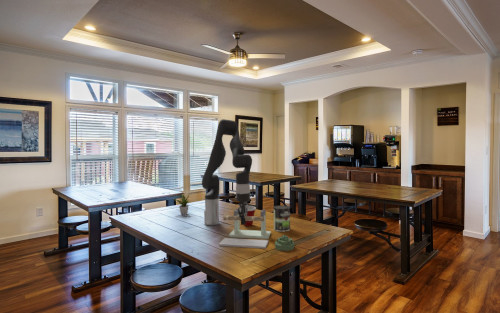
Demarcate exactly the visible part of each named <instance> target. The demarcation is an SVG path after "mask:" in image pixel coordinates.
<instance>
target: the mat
mask: <svg viewBox="0 0 500 313" xmlns="http://www.w3.org/2000/svg"><path fill="white" fill-rule="evenodd" d="M268 244H269V239H253V238H235V237H224V238H223V239H222V240H221V241H220V242H219V243H218V246H219V247H231V248H233V247H234V248H247V249H248V248H249V249H251V248H252V249H265V250H266V249H267V246H268Z"/></svg>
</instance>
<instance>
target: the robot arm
mask: <svg viewBox="0 0 500 313" xmlns="http://www.w3.org/2000/svg"><path fill="white" fill-rule="evenodd" d="M217 124H218V125H217V129H216V134H215V140H214V142H213V146H212V149H211V152H210V155H209V160H208V164H207V166H206V168H205V171H204V173H203V176H202V180H201V186H202V188H203V189H205V190H210V191H209V192H207V193H206V194H205V195H204V205H205V206H204V208H205V209H203V210H204V212H203V213H204V214H203V215H204V216H203V217H204V225H206V226H216V225H217V226H218V225H220V201H219V198H220V197H219V196H220V177H219V176H218V174H215V172H216V171H217V170H218V169H220V168H221V166H222V165H223V164H224V161H225V158H226V155H227V151H226V148H225V145H224V143H223V137H224V136H231V137H232V138H231V140H230V142H229V149H230V151H231V155H232V166H233V167H234V168H235V169H243V170H242V171H239V172H237V173H236V175H235V200H236V202H239V204H238V208H237V209H238V212H239V217H240V218H241V221H240V225H242V226H244V225H245V223H246V221H245V216H247V214H248V206H249V203H248V202H250V201H251V187H250V174H251V168H252V164H253V158H252V156H251V155H250V154H245V148H244V146H243V144H242V141H241V137H240V132H239V127H238V123H237V121H235V120H230V119H224V118H223V119H220V120H219V122H218V123H217Z"/></svg>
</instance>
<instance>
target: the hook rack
mask: <svg viewBox="0 0 500 313" xmlns="http://www.w3.org/2000/svg"><path fill="white" fill-rule="evenodd" d="M266 214H267V213H266V209H261V211H260V217H264V221H260V230H254V229H253V230H252V229H240V225H241V221H239V220H233V230H232V231H231V232H230V233H228V238H236V239H255V240H269V238H270V237H271V233H272V231H270V230H267V225H266V224H267V220H266V219H267V218H266ZM233 216H239V212H238V208H235V209H234V210H233Z"/></svg>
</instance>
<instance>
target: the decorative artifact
mask: <svg viewBox="0 0 500 313" xmlns="http://www.w3.org/2000/svg"><path fill="white" fill-rule="evenodd" d="M274 248H275V249H276V250H278V251H281V252H291V251H293V250H294V249H295V242H294V240H293V239H292V238H291V237H290V238H289V236H288V235H286V234H283V235H281V236H279V237H278V238H276V241H275V242H274Z"/></svg>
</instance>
